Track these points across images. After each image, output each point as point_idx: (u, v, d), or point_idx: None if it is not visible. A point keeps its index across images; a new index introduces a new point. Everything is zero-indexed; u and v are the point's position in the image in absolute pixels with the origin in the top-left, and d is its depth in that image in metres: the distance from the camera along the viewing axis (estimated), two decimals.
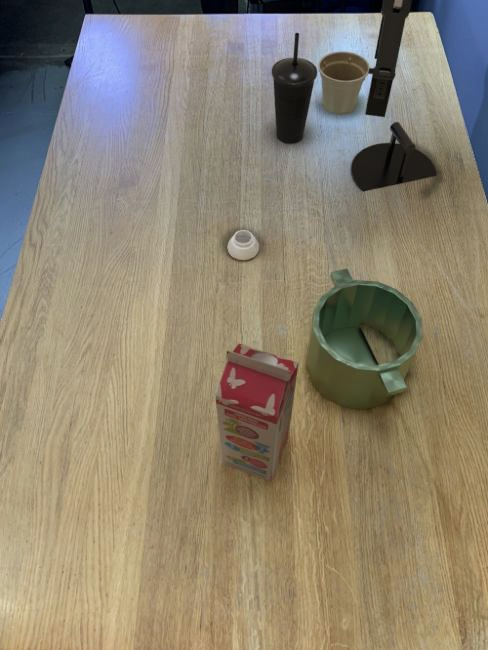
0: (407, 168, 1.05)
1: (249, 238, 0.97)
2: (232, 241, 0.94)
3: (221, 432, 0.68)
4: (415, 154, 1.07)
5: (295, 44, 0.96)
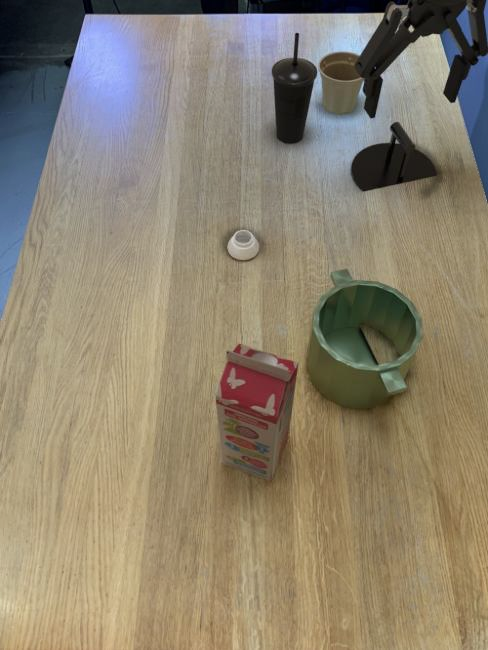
0: (407, 168, 1.05)
1: (249, 238, 0.97)
2: (232, 241, 0.94)
3: (221, 432, 0.68)
4: (415, 154, 1.07)
5: (295, 44, 0.96)
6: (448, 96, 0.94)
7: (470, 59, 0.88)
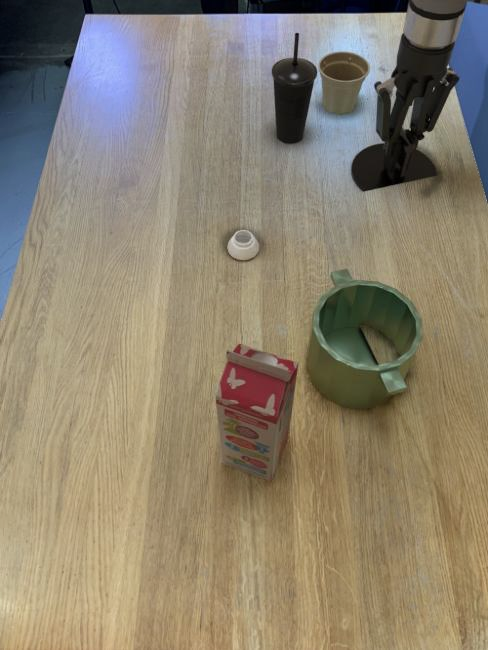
0: (407, 168, 1.05)
1: (249, 238, 0.97)
2: (232, 241, 0.94)
3: (221, 432, 0.68)
4: (415, 154, 1.07)
5: (295, 44, 0.96)
6: (400, 164, 1.03)
7: (418, 134, 0.97)
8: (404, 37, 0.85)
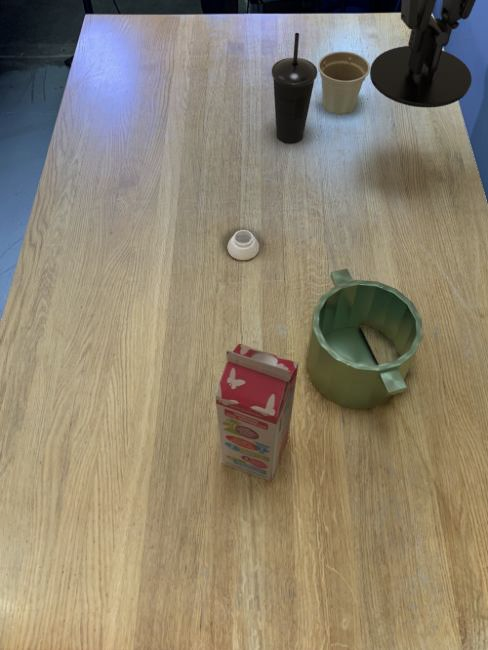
0: (436, 71, 0.89)
1: (249, 238, 0.97)
2: (232, 241, 0.94)
3: (221, 432, 0.68)
4: (445, 56, 0.91)
5: (295, 44, 0.96)
6: (429, 65, 0.88)
7: (451, 21, 0.82)
8: None
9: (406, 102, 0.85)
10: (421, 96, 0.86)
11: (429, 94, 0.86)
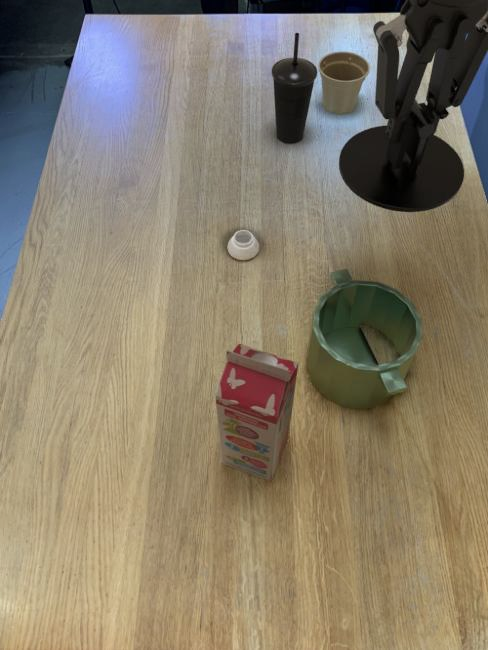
0: (421, 161, 0.72)
1: (249, 238, 0.97)
2: (232, 241, 0.94)
3: (221, 432, 0.68)
4: (433, 141, 0.74)
5: (295, 44, 0.96)
6: (411, 156, 0.71)
7: (439, 109, 0.64)
8: None
9: (381, 205, 0.68)
10: (400, 196, 0.69)
11: (410, 194, 0.69)
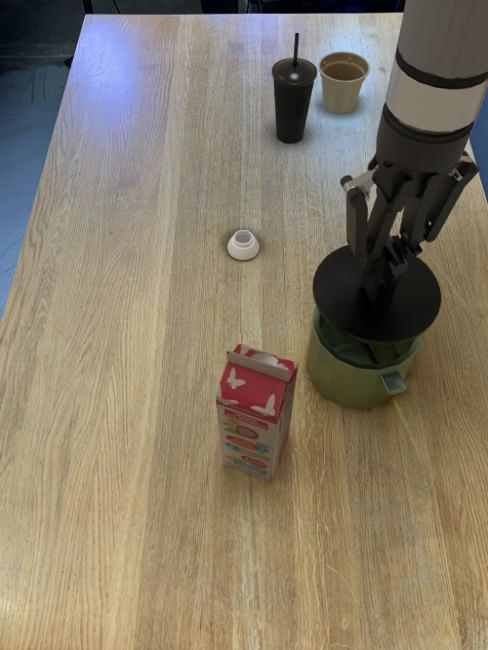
0: None
1: (249, 238, 0.97)
2: (232, 241, 0.94)
3: (221, 432, 0.68)
4: None
5: (295, 44, 0.96)
6: (386, 282, 0.68)
7: (412, 246, 0.62)
8: (388, 110, 0.50)
9: (355, 338, 0.66)
10: (375, 328, 0.66)
11: (386, 325, 0.67)
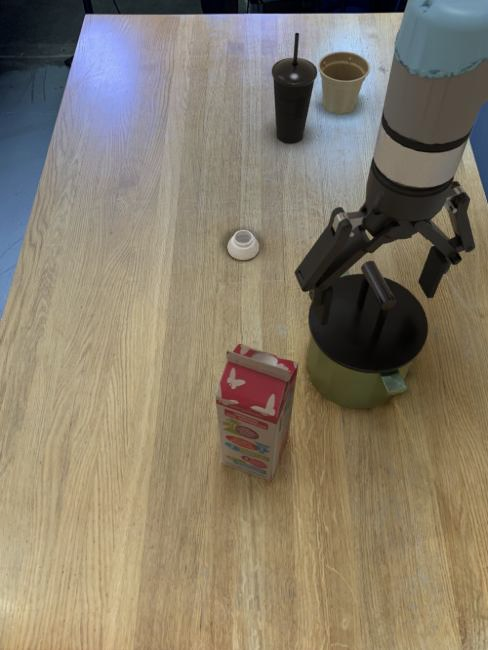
0: (387, 316, 0.75)
1: (249, 238, 0.97)
2: (232, 241, 0.94)
3: (221, 432, 0.68)
4: (399, 292, 0.77)
5: (295, 44, 0.96)
6: (424, 289, 0.72)
7: (451, 257, 0.66)
8: (376, 164, 0.54)
9: (348, 367, 0.71)
10: (366, 357, 0.72)
11: (376, 355, 0.72)
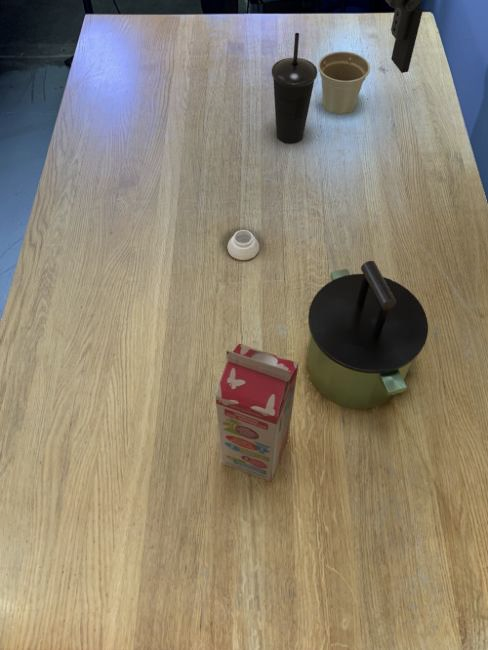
0: (387, 316, 0.75)
1: (249, 238, 0.97)
2: (232, 241, 0.94)
3: (221, 432, 0.68)
4: (399, 292, 0.77)
5: (295, 44, 0.96)
6: None
7: None
8: None
9: (348, 367, 0.71)
10: (366, 357, 0.72)
11: (376, 355, 0.72)
